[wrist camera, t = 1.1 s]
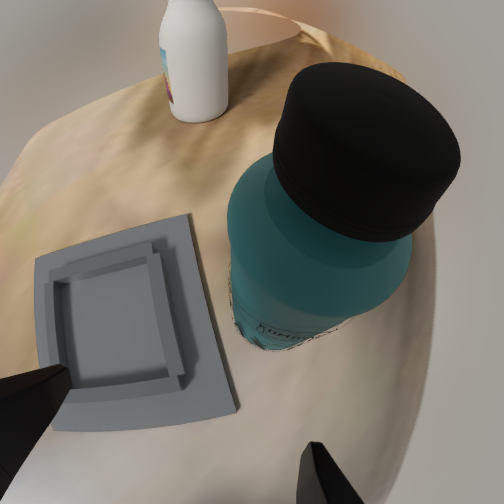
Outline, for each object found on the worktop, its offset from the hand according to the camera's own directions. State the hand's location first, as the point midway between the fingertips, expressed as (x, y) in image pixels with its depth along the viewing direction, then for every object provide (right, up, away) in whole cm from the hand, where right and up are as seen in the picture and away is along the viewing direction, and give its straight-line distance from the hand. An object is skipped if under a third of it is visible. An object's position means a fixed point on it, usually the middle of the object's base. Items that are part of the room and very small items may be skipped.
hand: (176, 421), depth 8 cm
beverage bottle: (+4, 0, +15) cm, 16 cm away
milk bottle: (-5, +25, +25) cm, 36 cm away
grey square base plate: (-10, -1, +13) cm, 17 cm away
